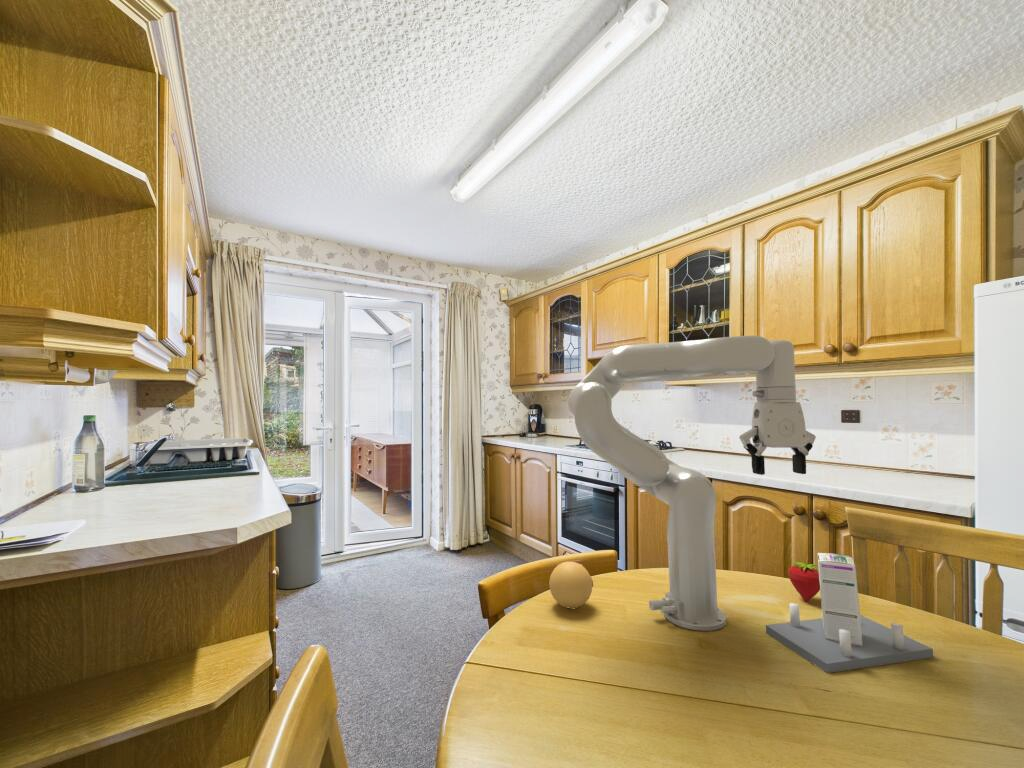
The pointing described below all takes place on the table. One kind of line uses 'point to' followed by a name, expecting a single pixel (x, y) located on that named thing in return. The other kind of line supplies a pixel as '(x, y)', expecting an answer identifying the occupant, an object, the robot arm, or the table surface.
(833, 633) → the syrup box
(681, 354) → the robot arm
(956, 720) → the table surface
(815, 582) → the strawberry
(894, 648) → the plate
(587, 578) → the stress ball
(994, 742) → the table surface
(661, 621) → the table surface
